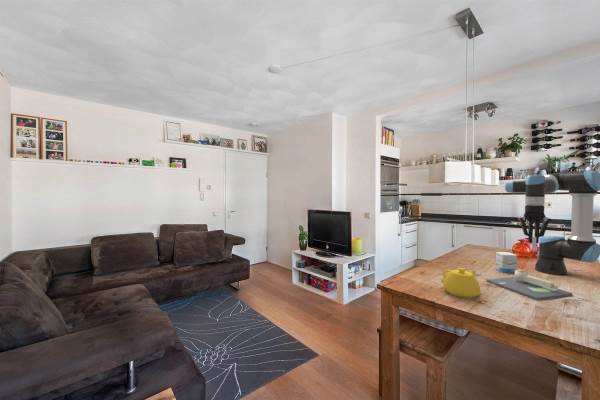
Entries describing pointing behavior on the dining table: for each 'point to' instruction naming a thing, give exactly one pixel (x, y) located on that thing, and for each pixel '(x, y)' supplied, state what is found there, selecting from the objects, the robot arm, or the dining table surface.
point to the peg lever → (532, 279)
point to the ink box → (506, 262)
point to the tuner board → (528, 288)
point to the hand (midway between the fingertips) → (533, 249)
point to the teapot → (461, 283)
